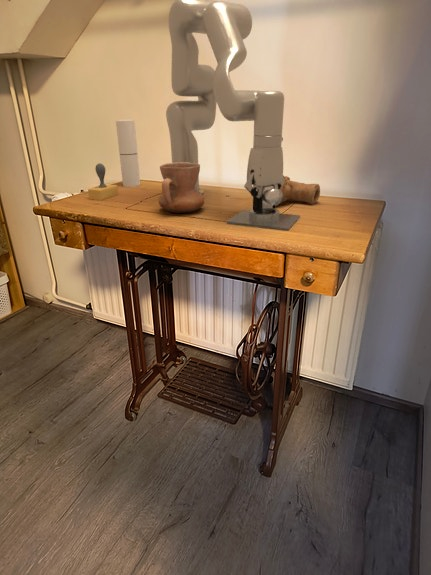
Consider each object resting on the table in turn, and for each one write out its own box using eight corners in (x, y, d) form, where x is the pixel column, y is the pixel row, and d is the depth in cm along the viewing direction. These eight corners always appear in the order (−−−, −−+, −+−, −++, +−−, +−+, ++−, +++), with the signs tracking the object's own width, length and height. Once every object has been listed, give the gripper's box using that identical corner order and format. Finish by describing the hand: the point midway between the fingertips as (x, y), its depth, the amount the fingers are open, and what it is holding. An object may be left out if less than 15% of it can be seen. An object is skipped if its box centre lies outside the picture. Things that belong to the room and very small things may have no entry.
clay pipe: (267, 207, 142) (250, 203, 129) (271, 177, 140) (254, 170, 127) (318, 212, 133) (304, 208, 120) (323, 180, 131) (310, 173, 118)
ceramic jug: (178, 202, 135) (176, 159, 129) (214, 206, 129) (214, 162, 122) (145, 214, 121) (141, 167, 115) (184, 220, 114) (182, 170, 108)
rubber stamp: (101, 200, 138) (96, 165, 133) (88, 199, 141) (83, 164, 136) (119, 195, 147) (115, 161, 141) (106, 193, 149) (102, 161, 144)
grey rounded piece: (252, 214, 114) (253, 185, 110) (264, 212, 116) (265, 183, 112) (269, 220, 108) (271, 189, 105) (281, 217, 111) (283, 187, 107)
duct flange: (226, 223, 111) (226, 213, 110) (243, 211, 123) (243, 202, 121) (288, 230, 105) (289, 220, 103) (300, 217, 116) (300, 208, 115)
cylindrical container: (120, 186, 160) (112, 120, 149) (126, 183, 166) (119, 119, 156) (136, 187, 159) (130, 120, 148) (142, 183, 165) (136, 119, 154)
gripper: (280, 139, 112) (276, 202, 120) (233, 143, 103) (233, 211, 111) (299, 141, 106) (294, 207, 114) (252, 145, 97) (250, 217, 105)
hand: (264, 208), depth 112 cm, fingers closed on grey rounded piece, 4 cm apart
